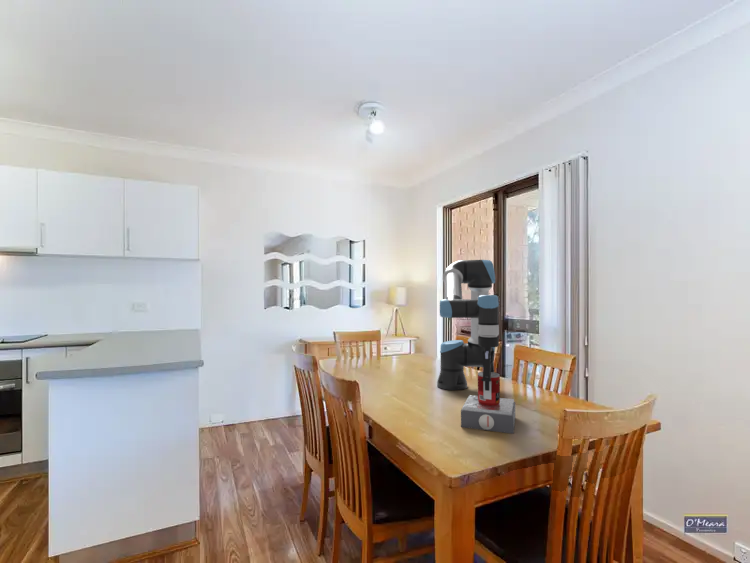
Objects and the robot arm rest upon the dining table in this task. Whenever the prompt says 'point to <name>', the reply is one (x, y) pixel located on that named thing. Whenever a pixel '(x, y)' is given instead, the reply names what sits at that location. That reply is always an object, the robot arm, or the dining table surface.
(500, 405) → the scale pan
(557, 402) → the dining table surface
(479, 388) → the canned food
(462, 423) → the scale base
